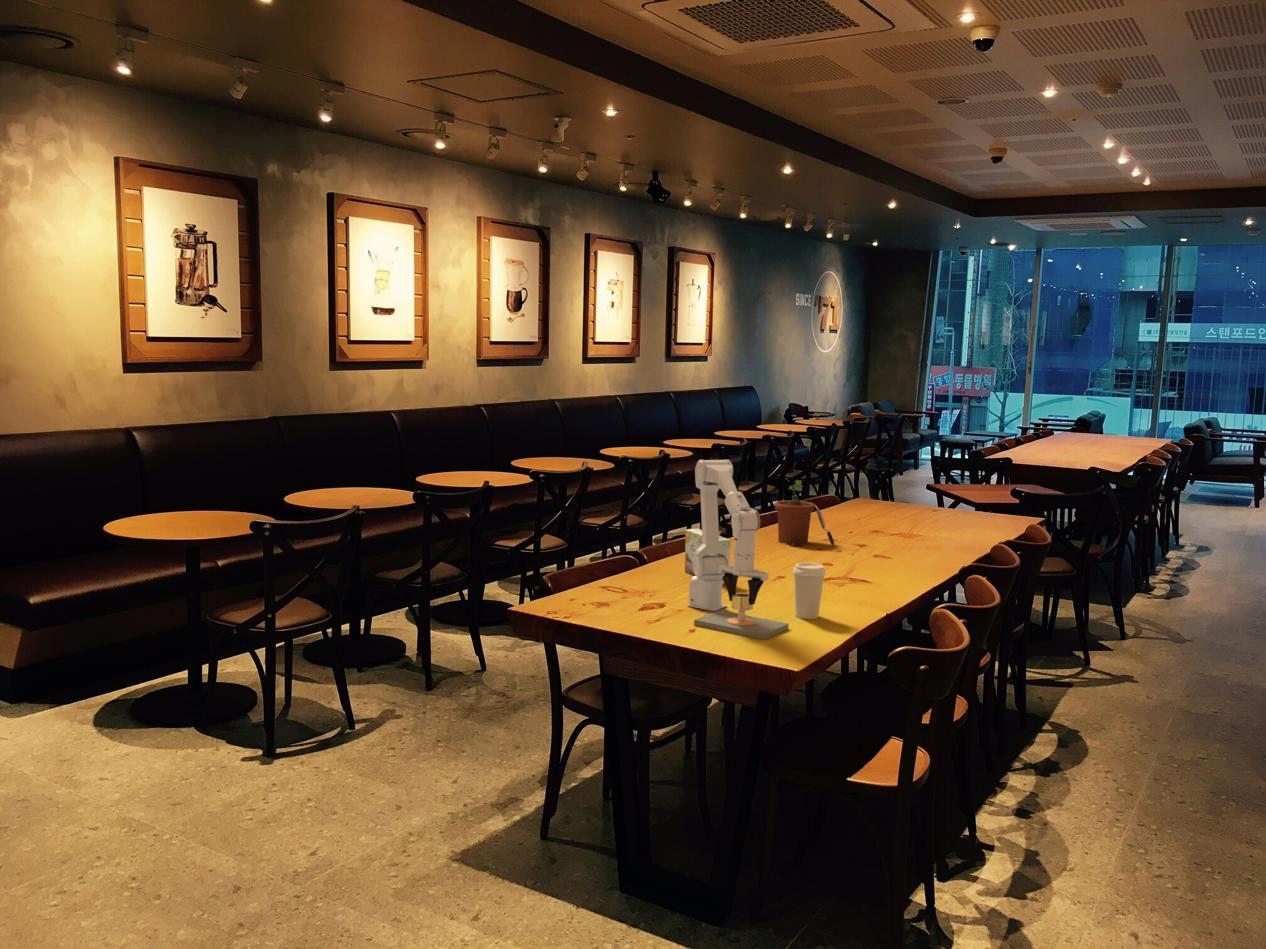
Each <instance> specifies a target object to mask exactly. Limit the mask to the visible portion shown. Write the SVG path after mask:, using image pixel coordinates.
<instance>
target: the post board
mask: <svg viewBox="0 0 1266 949" xmlns="http://www.w3.org/2000/svg"><path fill="white" fill-rule="evenodd" d="M737 611H738V613H736V612H731V611H728V610H721V609H719V610H716V611H712V612H711V613H709V614H705V615H703V616H701V617H698V618H695V619H694V620H693V625H694V626H696V627H701V628H706V629H711V630H716V631H720V632H725V633H730V634H735V635H739V636H744V637H749V638H754V639H759V640H763V641H765V640H767V639H769V638H772V637H773V636H776V635H779V634H780V633H783V632H785V631H787V630H789V623H786V622H783V621H778V620H772V619H768V618H761V617H756V616H752V615H747V614H746V611H741V610H737Z"/></svg>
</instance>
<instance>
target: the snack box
mask: <svg viewBox="0 0 1266 949" xmlns="http://www.w3.org/2000/svg"><path fill="white" fill-rule="evenodd" d="M684 537H685V539H684V540H685V541H684V542H685V546H684V548H685V550H684V551H685V552H684V554H685V555H684V557H685V558H684V572H685V573H687V572H688V574H690V575H692V576H694V575H695V574H694V572H693V559H694V552H695V551H696V550H697V549H698V548H699V547H700V546H701V545H702V544H703V542H702V529H700V528H688V529H685V536H684ZM719 545H720V546H721V547H723V548H724V549H725V550H726V551H727V555H728V560H729V565H730V564H731V563H730V562H731V560H730V558H731V540H730V539H729V538H727V537H723V536H721V535H719ZM716 555H717V554H705V555H704V556H716ZM722 585H725V583H724V581H723V582H722Z"/></svg>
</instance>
